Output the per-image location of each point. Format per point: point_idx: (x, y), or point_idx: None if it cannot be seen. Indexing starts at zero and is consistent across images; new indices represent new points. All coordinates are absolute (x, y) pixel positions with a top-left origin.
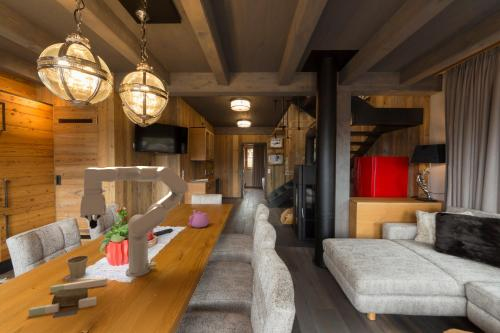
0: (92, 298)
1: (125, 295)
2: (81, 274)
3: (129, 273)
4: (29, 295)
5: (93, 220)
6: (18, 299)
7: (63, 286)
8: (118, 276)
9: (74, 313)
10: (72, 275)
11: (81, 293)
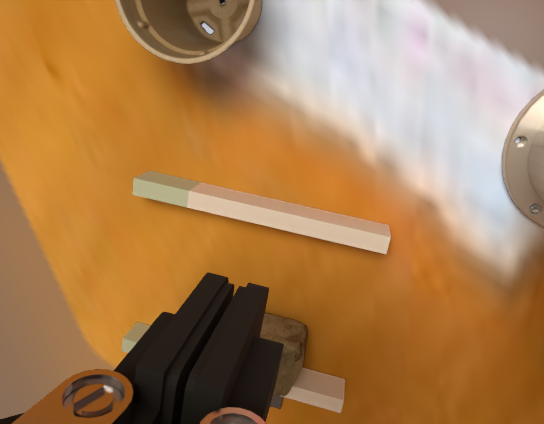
0: (328, 405)
1: (461, 388)
2: (244, 36)
3: (525, 190)
4: (66, 148)
5: (172, 419)
6: (40, 163)
7: (187, 205)
8: (455, 166)
9: (274, 402)
10: (196, 36)
11: (281, 389)
